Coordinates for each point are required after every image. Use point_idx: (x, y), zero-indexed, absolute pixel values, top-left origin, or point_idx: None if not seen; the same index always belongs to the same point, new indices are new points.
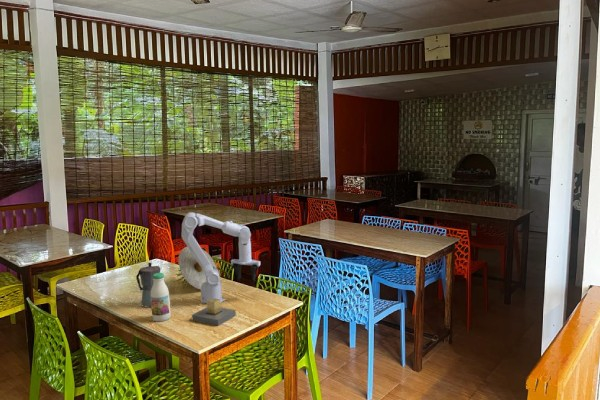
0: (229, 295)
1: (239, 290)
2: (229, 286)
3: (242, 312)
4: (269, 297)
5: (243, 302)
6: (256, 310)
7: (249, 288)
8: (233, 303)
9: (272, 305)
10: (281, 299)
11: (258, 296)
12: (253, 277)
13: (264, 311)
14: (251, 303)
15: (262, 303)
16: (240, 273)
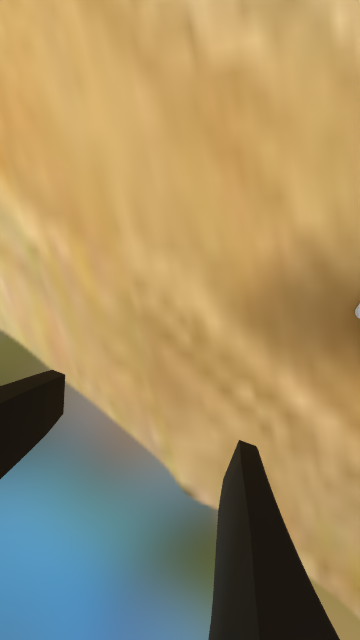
0: (332, 400)
1: (271, 470)
2: (350, 545)
3: (164, 25)
4: (74, 340)
5: (203, 260)
6: (77, 99)
7: (215, 485)
8: (277, 237)
9: (19, 211)
10: (10, 307)
11: (135, 361)
12: (8, 384)
13: (24, 88)
14: (145, 242)
15: (81, 244)
16: (217, 555)
